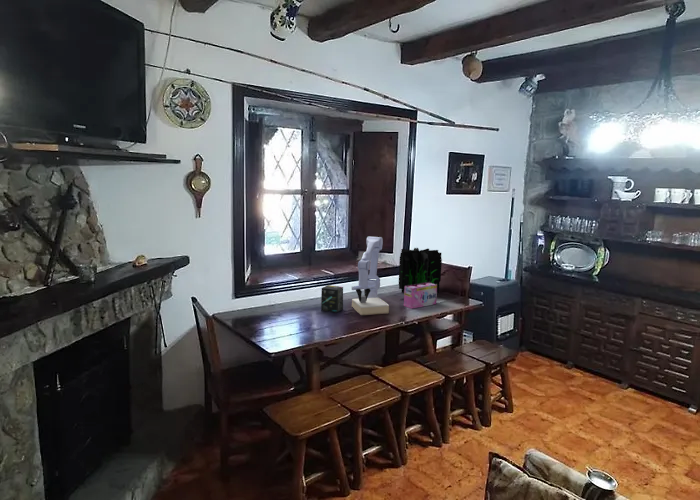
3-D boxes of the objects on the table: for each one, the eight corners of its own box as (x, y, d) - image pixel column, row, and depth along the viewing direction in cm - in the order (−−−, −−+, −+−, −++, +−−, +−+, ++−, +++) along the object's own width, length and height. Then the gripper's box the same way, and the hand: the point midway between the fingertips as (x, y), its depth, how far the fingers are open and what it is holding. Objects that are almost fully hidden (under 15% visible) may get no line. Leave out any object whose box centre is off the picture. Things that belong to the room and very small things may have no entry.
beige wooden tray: (351, 307, 299) (352, 300, 298) (378, 305, 304) (378, 298, 303) (361, 315, 282) (361, 308, 281) (388, 313, 287) (388, 306, 287)
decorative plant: (446, 291, 347) (448, 251, 342) (423, 298, 325) (425, 255, 321) (414, 284, 366) (416, 246, 361) (390, 290, 345) (392, 250, 340)
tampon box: (343, 309, 293) (343, 286, 291) (336, 313, 285) (337, 289, 283) (327, 306, 298) (328, 284, 296) (320, 310, 290) (321, 287, 287)
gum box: (429, 301, 318) (430, 281, 316) (438, 303, 312) (439, 284, 310) (403, 305, 305) (404, 285, 303) (411, 308, 298) (412, 288, 296)
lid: (352, 300, 298) (352, 292, 297) (378, 298, 303) (378, 291, 303) (361, 308, 281) (361, 300, 280) (388, 306, 287) (389, 298, 286)
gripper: (354, 281, 282) (353, 303, 284) (376, 280, 287) (375, 301, 289) (350, 278, 289) (350, 300, 291) (372, 277, 293) (371, 298, 295)
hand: (362, 300), depth 290 cm, fingers closed on lid, 3 cm apart
